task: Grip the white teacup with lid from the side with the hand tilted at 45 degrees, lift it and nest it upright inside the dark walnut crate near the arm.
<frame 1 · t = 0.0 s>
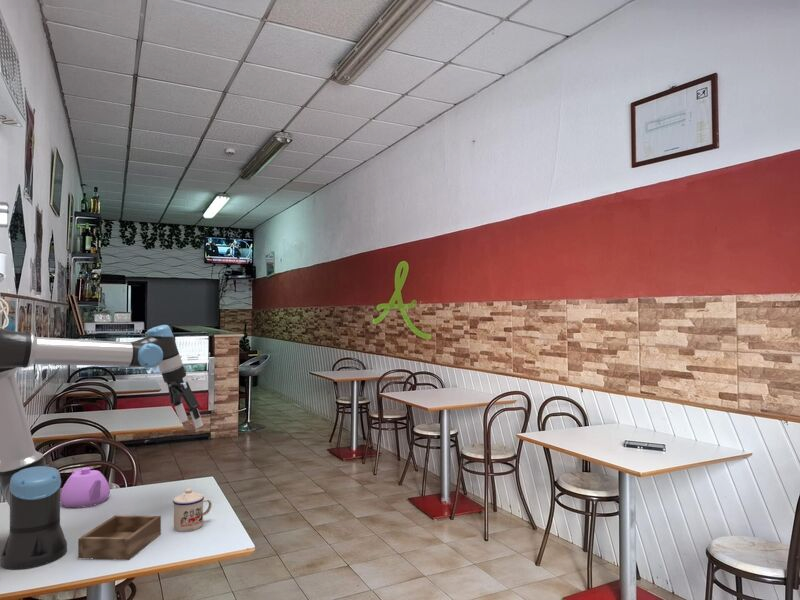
hand: (191, 424, 195), 28 cm above the table, tool tilted 20°, fingers open, 13 cm apart
teacup with lid: (193, 526, 173), on the table
teapot: (85, 502, 197), on the table
walnut crate: (121, 545, 158), on the table
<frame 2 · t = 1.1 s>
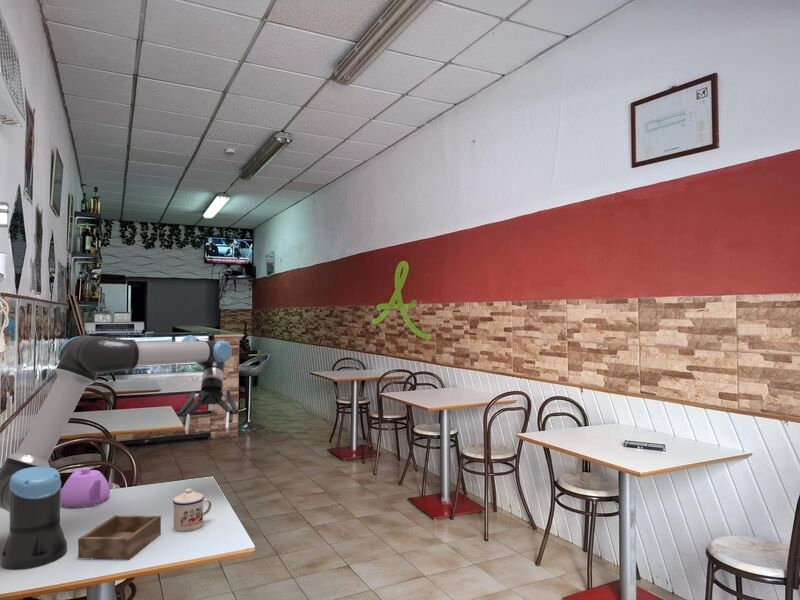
hand: (206, 430, 193), 26 cm above the table, tool tilted 45°, fingers open, 13 cm apart
nothing on the table moved.
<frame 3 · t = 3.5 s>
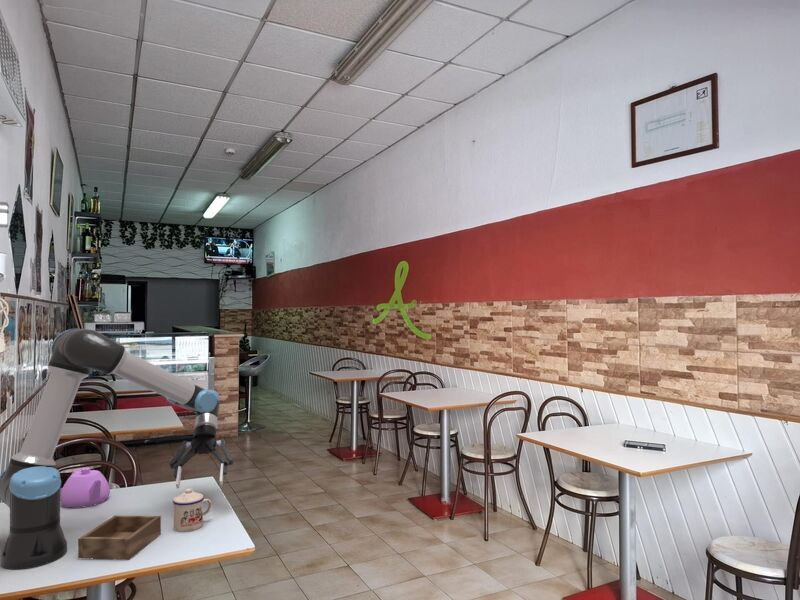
hand: (199, 484, 180), 11 cm above the table, tool tilted 45°, fingers open, 13 cm apart
nothing on the table moved.
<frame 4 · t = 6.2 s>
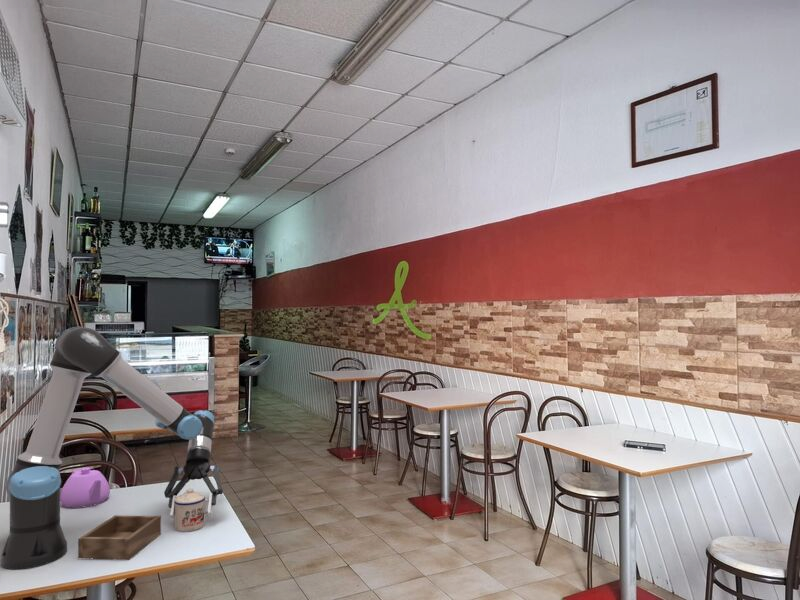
hand: (190, 516, 170), 4 cm above the table, tool tilted 45°, fingers closed on teacup with lid, 10 cm apart
teacup with lid: (194, 526, 173), on the table, touching gripper
everything else where it was.
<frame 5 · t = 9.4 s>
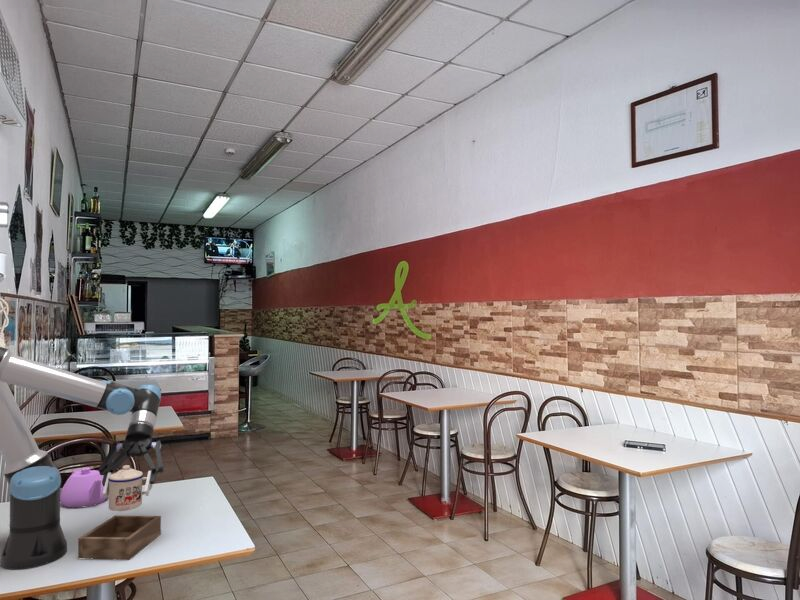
hand: (125, 494, 157), 15 cm above the table, tool tilted 45°, fingers closed on teacup with lid, 10 cm apart
teacup with lid: (130, 505, 160), point 11 cm above the table, touching gripper
everything else where it was.
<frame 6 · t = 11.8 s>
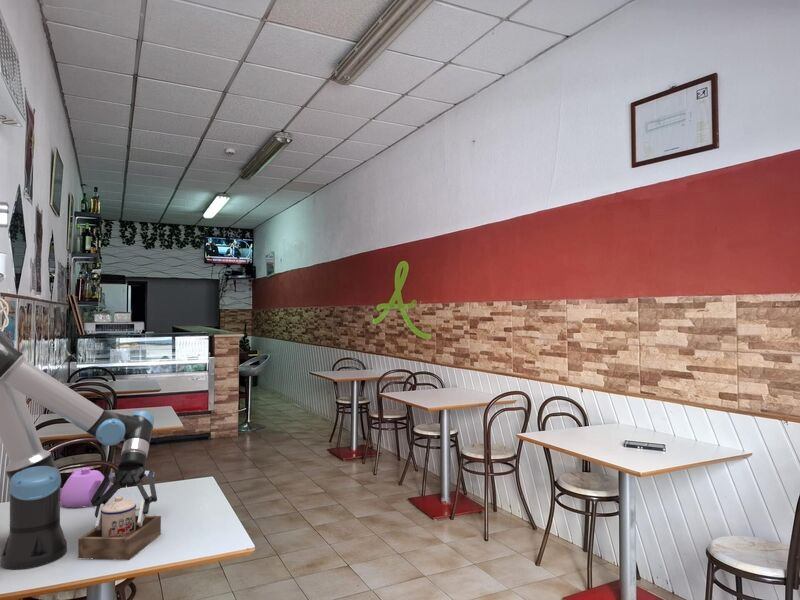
hand: (118, 526, 155), 7 cm above the table, tool tilted 45°, fingers closed on teacup with lid, 10 cm apart
teacup with lid: (124, 537, 158), point 3 cm above the table, touching gripper
everything else where it was.
when the fingers open (7 cm above the table, at t = 12.6 s): teacup with lid drops 2 cm, resting on walnut crate.
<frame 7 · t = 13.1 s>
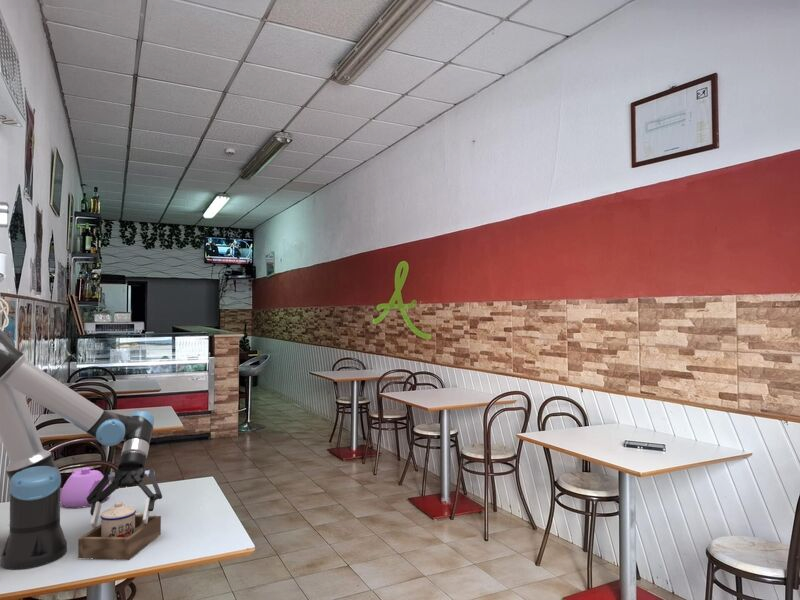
hand: (119, 523, 156), 7 cm above the table, tool tilted 45°, fingers open, 13 cm apart
teacup with lid: (123, 542, 158), point 1 cm above the table, touching walnut crate
everything else where it was.
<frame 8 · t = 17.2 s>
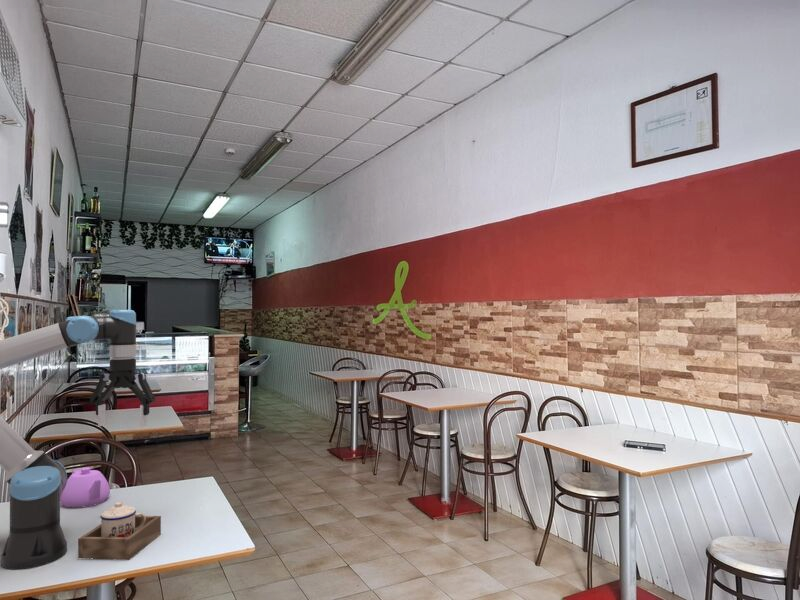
hand: (122, 425, 174), 32 cm above the table, tool pointing down, fingers open, 13 cm apart
nothing on the table moved.
at the end: teacup with lid 0.6 cm off-centre on the walnut crate, point 0.8 cm above the walnut crate's base; teacup with lid tilted 0°; the gripper is holding nothing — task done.
